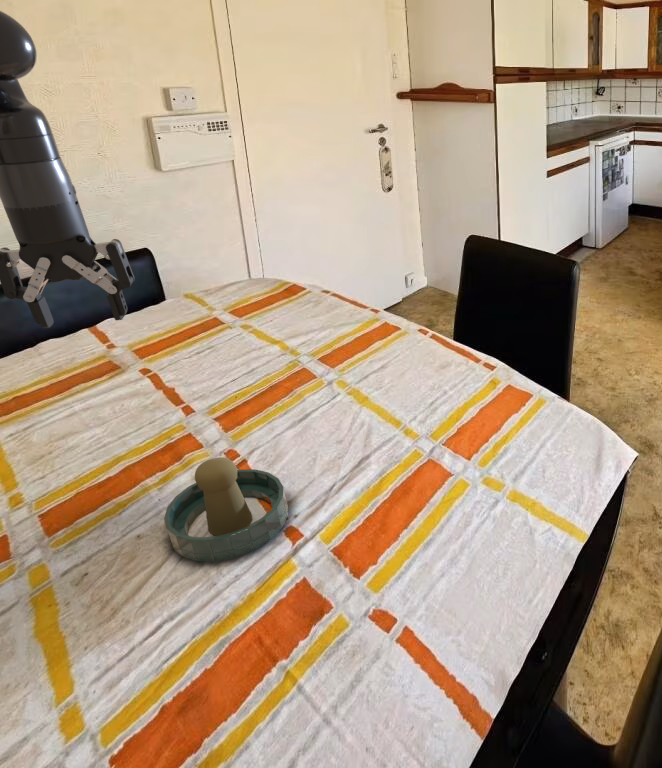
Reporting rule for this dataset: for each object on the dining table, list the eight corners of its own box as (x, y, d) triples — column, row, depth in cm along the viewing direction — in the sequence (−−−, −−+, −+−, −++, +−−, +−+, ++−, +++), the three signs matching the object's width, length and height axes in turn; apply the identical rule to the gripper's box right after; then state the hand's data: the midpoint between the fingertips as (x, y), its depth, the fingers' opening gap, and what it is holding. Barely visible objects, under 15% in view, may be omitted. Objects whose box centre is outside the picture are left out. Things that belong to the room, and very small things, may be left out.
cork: (258, 532, 87) (240, 468, 82) (211, 548, 84) (190, 483, 79) (250, 508, 92) (233, 446, 86) (206, 522, 89) (186, 459, 84)
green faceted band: (164, 580, 80) (153, 550, 78) (184, 506, 93) (175, 479, 91) (288, 555, 84) (281, 526, 81) (290, 488, 97) (284, 461, 94)
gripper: (-44, 209, 71) (12, 339, 79) (96, 200, 74) (137, 326, 82) (-15, 196, 77) (34, 318, 85) (113, 188, 81) (149, 306, 88)
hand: (85, 322), depth 83 cm, fingers open, 8 cm apart
